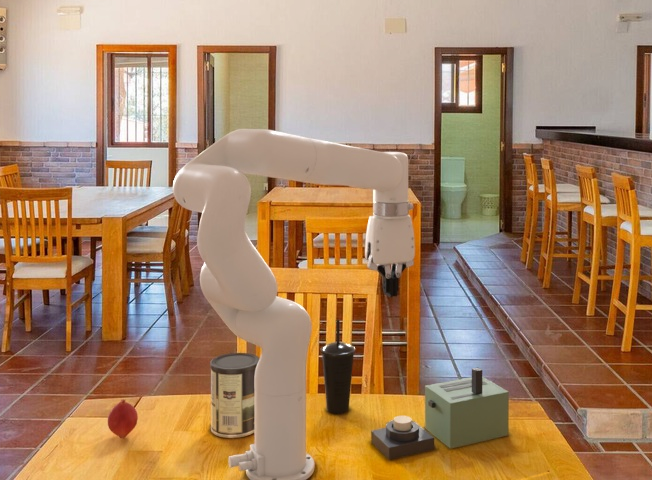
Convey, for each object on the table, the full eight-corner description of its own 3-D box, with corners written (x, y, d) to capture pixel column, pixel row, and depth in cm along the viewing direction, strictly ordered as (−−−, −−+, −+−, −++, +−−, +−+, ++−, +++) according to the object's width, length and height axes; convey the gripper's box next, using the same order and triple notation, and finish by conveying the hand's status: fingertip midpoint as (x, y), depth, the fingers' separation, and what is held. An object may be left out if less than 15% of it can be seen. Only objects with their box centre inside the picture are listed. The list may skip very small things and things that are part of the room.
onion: (101, 440, 142) (101, 400, 142) (123, 428, 148) (123, 390, 147) (122, 446, 140) (122, 406, 140) (143, 434, 145) (143, 396, 145)
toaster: (446, 449, 138) (446, 403, 138) (421, 429, 148) (421, 385, 147) (508, 435, 145) (508, 391, 145) (480, 416, 154) (480, 374, 154)
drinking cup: (351, 418, 152) (351, 326, 152) (316, 415, 154) (316, 324, 154) (358, 404, 160) (358, 316, 160) (325, 401, 161) (325, 314, 161)
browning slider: (475, 394, 143) (475, 371, 143) (471, 391, 144) (471, 368, 144) (482, 393, 143) (482, 369, 143) (478, 390, 145) (478, 367, 145)
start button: (398, 433, 138) (398, 424, 138) (390, 426, 141) (390, 417, 141) (414, 430, 139) (414, 421, 139) (406, 422, 142) (406, 414, 142)
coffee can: (253, 413, 155) (253, 349, 155) (265, 433, 145) (265, 365, 145) (206, 421, 151) (206, 355, 151) (214, 442, 142) (214, 372, 141)
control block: (389, 460, 134) (389, 439, 134) (371, 442, 142) (371, 422, 142) (434, 449, 138) (434, 429, 138) (414, 433, 146) (414, 413, 146)
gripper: (412, 205, 157) (412, 287, 157) (351, 209, 151) (351, 295, 151) (430, 210, 150) (429, 295, 151) (366, 214, 144) (366, 303, 144)
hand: (390, 295), depth 151 cm, fingers closed
